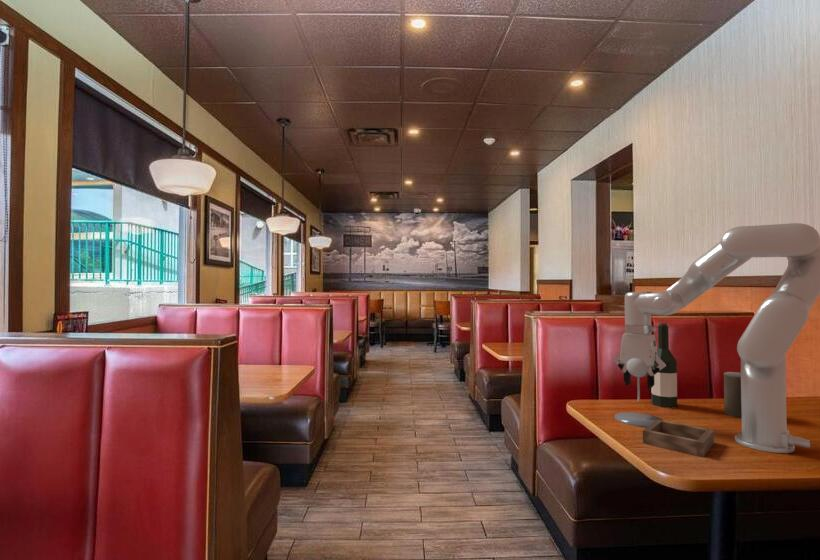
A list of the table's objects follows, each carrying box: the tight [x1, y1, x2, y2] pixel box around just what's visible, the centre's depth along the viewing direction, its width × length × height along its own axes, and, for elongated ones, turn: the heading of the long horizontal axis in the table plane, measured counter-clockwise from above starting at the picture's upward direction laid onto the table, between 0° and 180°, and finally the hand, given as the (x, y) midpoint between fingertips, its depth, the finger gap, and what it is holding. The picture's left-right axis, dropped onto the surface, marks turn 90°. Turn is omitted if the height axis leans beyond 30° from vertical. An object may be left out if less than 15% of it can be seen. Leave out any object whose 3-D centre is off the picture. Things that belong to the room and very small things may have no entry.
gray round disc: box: [614, 411, 663, 428], centre depth 138 cm, size 14×14×1 cm
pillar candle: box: [723, 371, 742, 419], centre depth 144 cm, size 10×10×15 cm
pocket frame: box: [642, 419, 715, 458], centre depth 118 cm, size 14×14×4 cm
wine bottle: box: [650, 322, 678, 409], centre depth 156 cm, size 8×8×30 cm
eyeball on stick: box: [626, 358, 649, 403], centre depth 138 cm, size 7×7×15 cm
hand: (638, 385), depth 138 cm, fingers closed on eyeball on stick, 5 cm apart
